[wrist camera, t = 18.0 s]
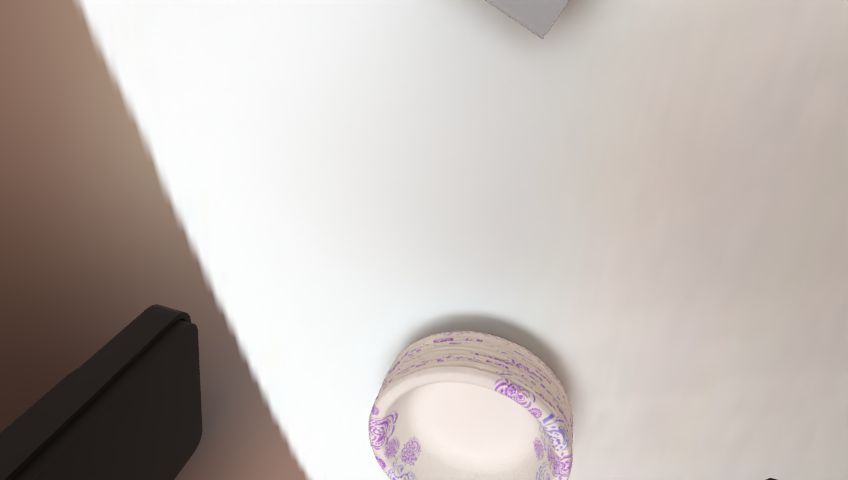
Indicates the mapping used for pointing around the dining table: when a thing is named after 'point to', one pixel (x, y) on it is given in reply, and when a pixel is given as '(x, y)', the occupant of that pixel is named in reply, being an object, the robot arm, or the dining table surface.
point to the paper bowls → (471, 413)
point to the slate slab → (532, 13)
